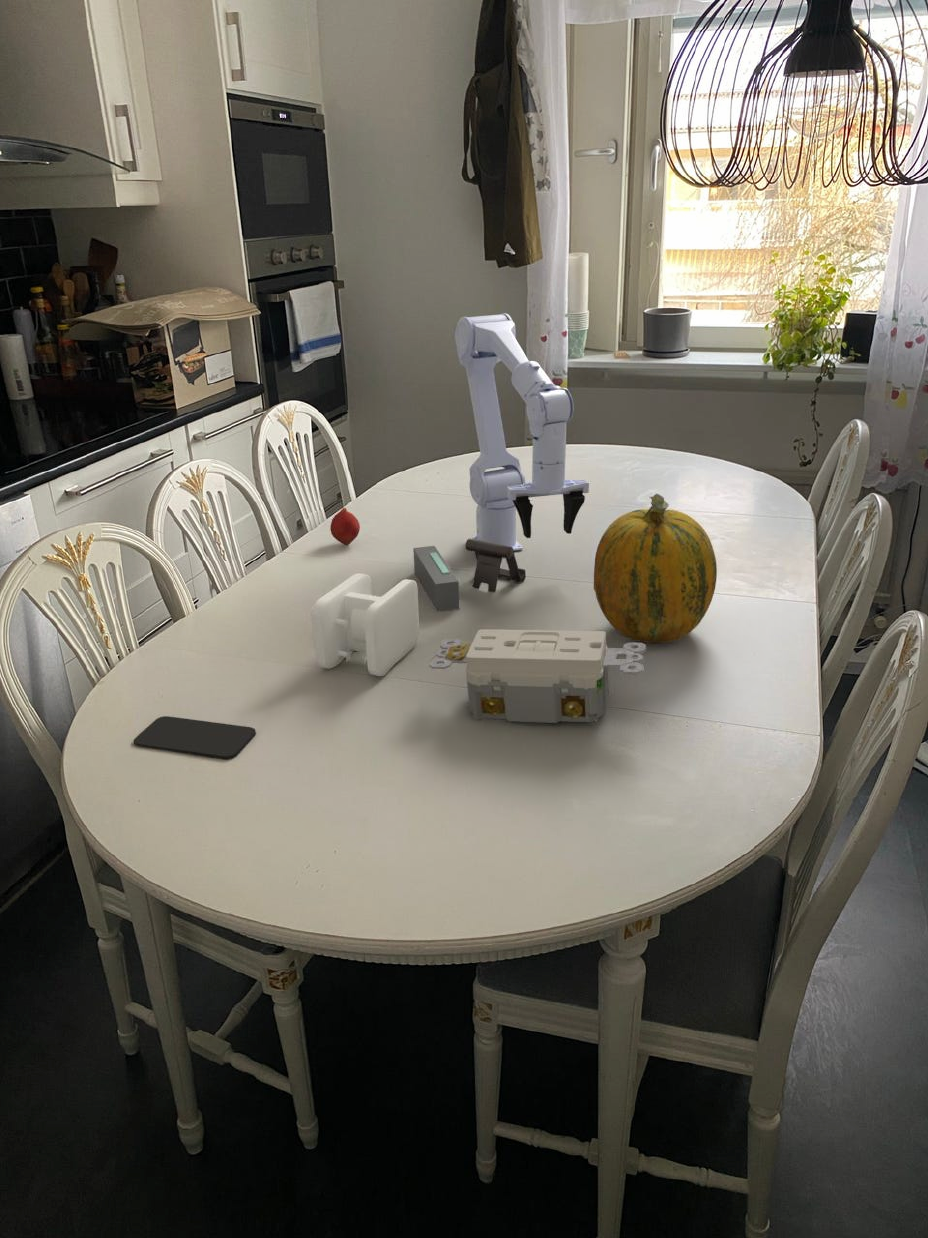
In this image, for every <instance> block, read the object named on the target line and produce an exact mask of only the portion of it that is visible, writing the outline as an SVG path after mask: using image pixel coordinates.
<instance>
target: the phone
mask: <svg viewBox="0 0 928 1238" xmlns="http://www.w3.org/2000/svg"><path fill="white" fill-rule="evenodd" d="M256 731H257V730H256V728H253V727H252V726H251V727H250V726H244V725H238V724H237V725H236V724H230V723H223V722H216V721H215V722H214V721H206V720H199V719H198V720H197V719H192V718H191V719H190V718H183V717H178V716H177V717H175V716H169V715H168V716H167V715H166V716H165V715H164V716H159V717H157V718H156V719H155V720H153V721H152V722H151V723H150V724H149V725H148V726H147V727H146V728H145V729H144V730H143V731H141V732H140V733H139V734H137V736H135V738H134V739H133V741H132V742H133V745H134V746H135V747H139V748H146V749H152V750H159V751H165V752H170V753H179V754H185V755H190V756H191V755H192V756H198V757H204V758H209V759H210V758H211V759H217V760H226V761H227V760H228V761H229V760H233V759H235V758H236V757H238V755H239V754H241V753H242V751H243V750H244V749H245V748H246V747H247V746H248V744H250V742H251V741H253V739H254V738H255V737H256V736H257V732H256Z"/></svg>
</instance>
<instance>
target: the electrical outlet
mask: <svg viewBox="0 0 928 1238" xmlns="http://www.w3.org/2000/svg"><path fill="white" fill-rule="evenodd" d="M622 647H623V648H621V647H619V648H618V647H608V646H607V633H606V632H605V631H602V630H601V631H598V630H553V629H552V630H544V629H536V630H535V629H487V628H485V629H482V628H481V629H478V630H477V632H476V634H475V636H474V638H473V640H472V642H471V643H470V642H467V643H465V644H463V643H462V641H461V640H460V639H458V638H457V639H456V638H453V639H451V638H450V639H449V638H447V639H444V640H441V641H440V644H439V648H441V649H439V650H438V651H437V652H436V653H435V656H436V657H437V658H434V659H431V660H430V662H429V663H428V667H430V668H431V669H433V670H436V669H437V670H439V669H440V670H446V669H447V668H450V667H451V666H452V664H466V669H465V675H466V677H465V678H466V685H467V686H466V688H467V698H468V705H469V709H470V714H473V719H474V720H479V719H481V718H482V719H493V720H495V719H496V720H497V719H498V720H507V721H508V722H525V723H526V722H527V723H547V724H548V723H559V722H573V723H577V722H578V723H590V724H594V721H595V722H598V721H599V718H601V717H603V716H604V715H605V714H606V712H607V705H608V704H607V703H608V697H609V667H610V668H613V667H614V668H619V671H620V672H621V673H623V674H625V675H628V674H629V675H630V674H631V675H639V674H641V673H643V672H644V664H642V663H640V662H643V660H644V656H643V654H642V653H644V652H646V648H647V645H646V644H645V643H644V642H627V643H624V644H623V646H622ZM454 653H458V654H454ZM617 656H625V658H624V659H623V658H622V659H618V657H617ZM441 663H442V664H441ZM630 668H633V669H630Z"/></svg>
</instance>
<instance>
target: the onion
mask: <svg viewBox="0 0 928 1238" xmlns="http://www.w3.org/2000/svg"><path fill="white" fill-rule="evenodd" d="M329 528H330V530H329V531H330V533H331V535H332V537H333V538H334V539H336V541H338V542H339V543H341V544H342V545H344V546H350V544H351V543H352V542H353V541H354V540H355V539H356V538H357V537H358V535H359V533H360V532H361V531H360V528H361V526H360V522H359V520H358V519H357V517H356V516H355V515H354V514H353V513H351V512H349V511H348V509H347V507H342V508H341V510H340V511H339V512H338V513H336V514H335V515H334V516H333V518H332V519H331V523H330V527H329Z"/></svg>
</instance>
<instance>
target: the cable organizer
mask: <svg viewBox="0 0 928 1238" xmlns="http://www.w3.org/2000/svg"><path fill="white" fill-rule="evenodd" d="M372 591H373V590H372V579H371V577H370V575H368V574H365V573H354V574H352V575H351V576H350V577H348V578H347V579H345V580H344V581H343V582H341V583H340V584H338V585H337V586H336V587H334V588H333V589H331V590H330V591H329V592H327V593H326V594H324V595H323V596H321V597H320V598H318V600H316V602H315V603H314V604H313V607H311V608H310V616H311V624H312V634H313V646H314V657H315V663H316V665H317V667H319V668H324V669H330V670H331V669H333V668H335V667H336V666H338V665H339V664H340V663H342V661H344V659H346V660H345V661H346V663H348V661H349V663H351V655H352V653H353V652H359V653H365V655H363V658H364V664H363V666H365V665H367V670H368V673H369V674H370V675H373V676H379V677H383V676H385V675H386V674H387V673H388V672H389V671H390V670H391V669H392V668H393V666H395V664H396V663H398V661H400V660H401V659H402V658H404V657H406V656H407V654H408V653H409V652H411V651H412V649H413V648H414V647H415V645H416V644H417V642H418V640H419V636H420V617H419V614H420V613H419V596H418V595H419V594H418V593H419V592H418V591H419V590H418V584H417V582H416V581H415V580H413V579H406V578H405V579H402V580H401V581H400V582H399V583H397V584H396V585H395V586H393V587H392V588H391V589H389V590H388V591H387V592H385V593H384V594H383V595H382V596H378V595H376V593H375V594H374V595H373V592H372Z"/></svg>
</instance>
